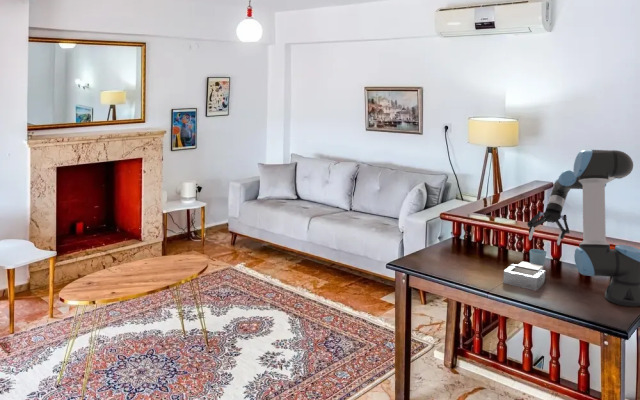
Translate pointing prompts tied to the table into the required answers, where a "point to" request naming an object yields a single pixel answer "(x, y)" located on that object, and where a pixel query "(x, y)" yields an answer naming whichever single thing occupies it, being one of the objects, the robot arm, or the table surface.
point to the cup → (537, 256)
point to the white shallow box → (528, 268)
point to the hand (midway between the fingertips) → (543, 241)
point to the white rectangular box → (523, 279)
